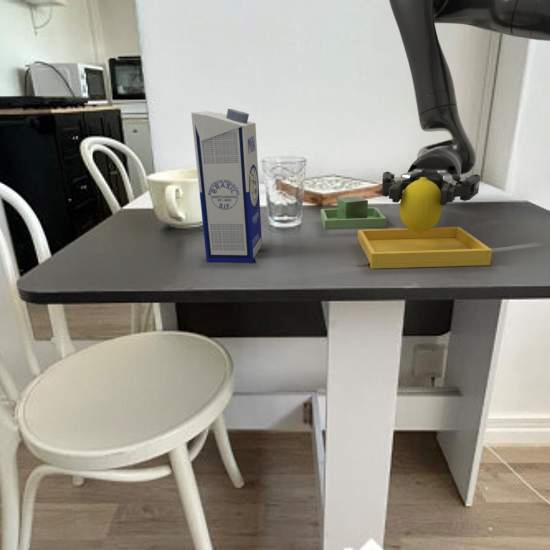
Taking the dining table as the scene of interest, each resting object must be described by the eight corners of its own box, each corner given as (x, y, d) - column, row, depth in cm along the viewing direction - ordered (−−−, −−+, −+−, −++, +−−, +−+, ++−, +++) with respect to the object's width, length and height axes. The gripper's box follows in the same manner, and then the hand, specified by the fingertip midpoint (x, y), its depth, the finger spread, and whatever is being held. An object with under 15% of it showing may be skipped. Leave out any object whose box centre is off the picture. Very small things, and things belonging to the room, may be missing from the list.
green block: (357, 218, 79) (358, 195, 77) (367, 223, 75) (368, 200, 74) (336, 220, 78) (337, 197, 76) (345, 225, 74) (345, 202, 73)
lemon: (396, 240, 59) (400, 180, 56) (398, 228, 64) (402, 173, 61) (440, 242, 58) (446, 181, 55) (438, 230, 62) (444, 173, 59)
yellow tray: (457, 239, 66) (459, 226, 66) (490, 265, 56) (492, 249, 55) (357, 243, 67) (357, 229, 66) (370, 268, 57) (371, 253, 56)
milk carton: (220, 246, 68) (207, 109, 61) (262, 247, 67) (254, 107, 60) (206, 262, 62) (190, 110, 54) (252, 262, 60) (243, 108, 53)
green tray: (376, 218, 80) (376, 207, 80) (386, 230, 73) (386, 218, 72) (320, 220, 81) (320, 209, 80) (324, 232, 73) (324, 220, 72)
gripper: (391, 149, 72) (365, 165, 58) (487, 150, 66) (484, 168, 52) (388, 195, 75) (363, 220, 61) (480, 199, 69) (476, 229, 55)
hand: (419, 196), depth 56 cm, fingers closed on lemon, 5 cm apart
